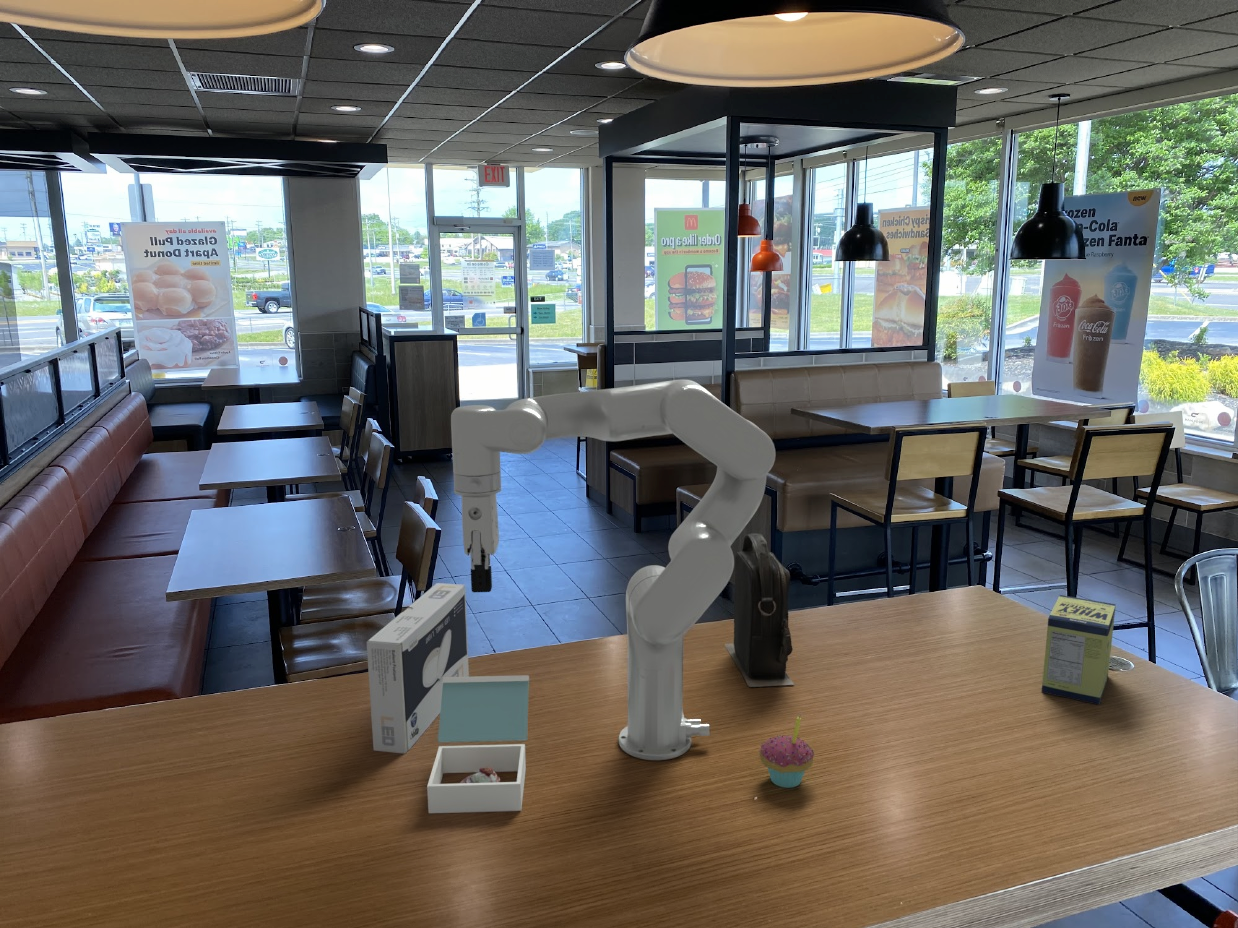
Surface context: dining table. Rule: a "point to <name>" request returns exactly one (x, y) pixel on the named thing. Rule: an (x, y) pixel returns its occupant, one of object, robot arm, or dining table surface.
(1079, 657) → the protein box
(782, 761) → the cupcake
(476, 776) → the pastry
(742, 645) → the shoulder bag
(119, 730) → the dining table surface
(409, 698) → the packaging
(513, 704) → the lid
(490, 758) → the box
